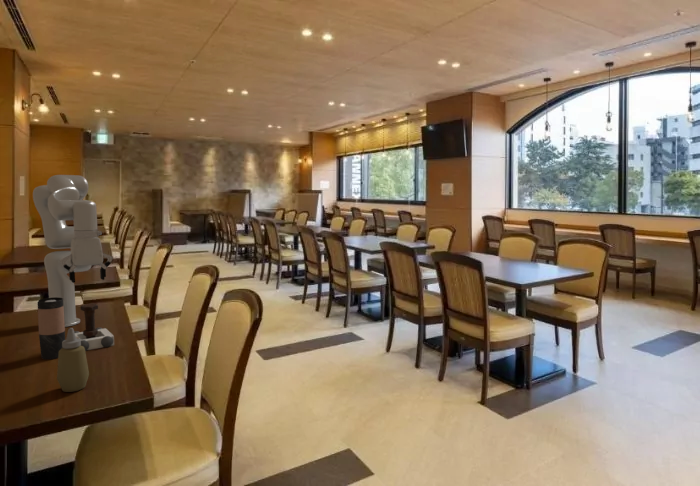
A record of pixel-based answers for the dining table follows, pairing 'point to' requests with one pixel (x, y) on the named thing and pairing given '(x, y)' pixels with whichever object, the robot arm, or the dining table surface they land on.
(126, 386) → the dining table surface
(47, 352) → the travel mug
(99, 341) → the chassis
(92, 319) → the bolt
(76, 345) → the squeeze bottle
